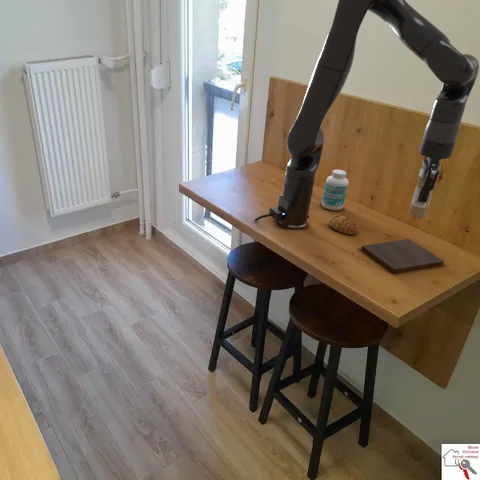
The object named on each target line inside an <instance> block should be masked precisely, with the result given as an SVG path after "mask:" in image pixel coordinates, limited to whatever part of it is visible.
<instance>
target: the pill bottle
mask: <svg viewBox="0 0 480 480" xmlns="http://www.w3.org/2000/svg"><path fill="white" fill-rule="evenodd" d="M349 184H350V183H349V179H348V178H347V172H346V171H345V170H342V169H333V170H332V172H331V175H329V176H328V177H327V178H326V181H325V185H324V190H323V196H322V199H321V206H322V207H323V208H324V209H326V210H329V211H340V210H342V209H343V208H344V206H345V200H346V197H347V191H348V187H349Z"/></svg>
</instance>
